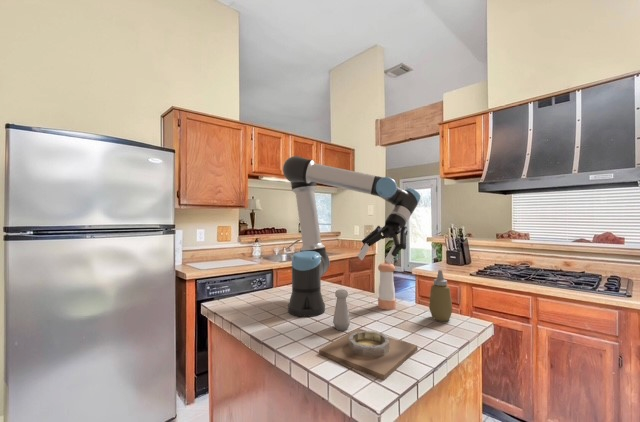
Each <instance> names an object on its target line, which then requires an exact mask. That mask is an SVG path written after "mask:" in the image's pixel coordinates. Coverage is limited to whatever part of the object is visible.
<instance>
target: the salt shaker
mask: <svg viewBox="0 0 640 422" xmlns="http://www.w3.org/2000/svg"><path fill="white" fill-rule="evenodd" d="M334 295H335V298H336V301H335V306H334V307H335V308H334V314H333V319H332V320H333V321H332V323H333V325H334V327H335V329H336V330H337V331H342V332H343V331H347V330H348V329H349V326H350V324H351V318H350V315H349V314H350V313H349V309H348V303H347V298H348V296H349V293H348V291H347V289H343V288H342V289H337V290H335V293H334Z"/></svg>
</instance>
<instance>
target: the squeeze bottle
mask: <svg viewBox="0 0 640 422" xmlns="http://www.w3.org/2000/svg"><path fill="white" fill-rule="evenodd" d="M430 287H431V288H430V296H429V304H428V305H429V306H428V308H429V312H430V314H431V317H432V319H433V320H436V321H439V322H447V321H450V319H451V315H452V314H453V304H452V294H451V288H450V286H449V285H448V280H447V279H445V277H444V273H443V269H439V270H438V272H437V276H436V278H434V279H433V284H432V285H431V286H430Z"/></svg>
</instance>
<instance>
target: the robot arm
mask: <svg viewBox="0 0 640 422" xmlns="http://www.w3.org/2000/svg"><path fill="white" fill-rule="evenodd" d="M282 174H283V176H284V177H285V179H286V180H287V181H288V182H290V187H291V191H292V192H293V193H295V198H296V204H297V205H296V207H297V211H298V220H299V227H300V234H301V243H302V246H301V248H300V250H299V251H300V252H299V251H298V252H296V253H294V254H293V255H292V258H291V287H292V288H291V295H290V297H289V301H288V304H287V313H289V314H290V315H292V316H296V317H314V316H319V315H321V314H324V313H326V304H325V302H324V299H323V295H322V292H321V291H322V289H321V287H322V286H321V285H322V283H321V282H322V280H321V279H322V277H323V276H324V275H326V273H327V271H328V269H329V267H330V262H331V261H330V257H329V255H328V254H327V250H326V246H325V245H324V244H323V243H322V238H321V231H320V230H321V229H320V223H319V217H318V210H317V203H316V194H315V191H316V190H317V188H318V185H317V184H320V185H321V184H322V185H326V186H329V187H330V186H331V187H333V188H339V189H344V190H349V191H353V192H358V193H363V194H366V195H367V194H368V195H372V196H375V197H379V198H380V199H382V200H384V201H386V202H388V203H390V204H391V205H393V206H394V207H393V209H392V210H391V212H390V213H389V215H388V216H387V218H386V220H385V223H384V226H383V227H381V226H380V225H377V226H376V228H375V229H374V230H373V231H372V232H370V233H369V234H367V236H365V237H364V238H363V239H362V240H361V242H362V243H363V245H362V247H361V248H360V251H359V253H358V254H357V257H358V259H360V261H363V260H364V258H365V257H366V255H367V254H368V252H369V250H370V249H371V246H373V245H374V244H376V243H378V242H379V241H381V240H384V239H388V238H389V239H392V240H393V242H394V244H393V245H392V246H391V248H390V250H389V252H388V253H387V255H386V256H385V258H384V262H385V261H386V262H387V264H388V265H390V264H392V262H393V260H394V258H395V257H397V255H398V253H399V252H400V251H401V250H406V249H407V234H408V232H409V231H408V229H407V228H406V224H407V223H408V221H409V220H410V218H411V216H412V214H413V213H414V211H415V209H416V208H417V206H418V205H419V202H420V200H421V194H420V193H419V191H418V190H417V189H415V188H411V187H409V188H406V189H405V190H404V189H403V188H401V187H399V186H398V185H397V182H396V180H394V179H393V178H391V177H389V176H377V175H374V174H368V173H363V172H359V171H354V170H348V169H346V168H345V169H344V168H338V167H336V166H335V167H334V166H330V165H324V164H320V163H316V162H315V161H314V160H312V159H308V158H305V157H302V156H298V155H294V156H291V157H289V158H287V159H286V160H285V161H284V163H283V166H282ZM398 235H400V236H399V237H398Z"/></svg>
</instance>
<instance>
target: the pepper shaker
mask: <svg viewBox="0 0 640 422" xmlns="http://www.w3.org/2000/svg"><path fill="white" fill-rule="evenodd" d="M377 269H378V271H379V286H378V297H377V307H378V309H382V310H388V311H389V310H390V311H391V310H392V311H393V310H395V309H396V307H397V301H396V300H397V299H396V298H395V297H396V296H395V295H396V294H395V293H396V289H395V284H394V272H395V270H396V267H395V265H394V264H393V263H391V264H390V265H388V264H387V262H386V261H385V260H384V262H382V263H380V264H379V265H378V267H377Z"/></svg>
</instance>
